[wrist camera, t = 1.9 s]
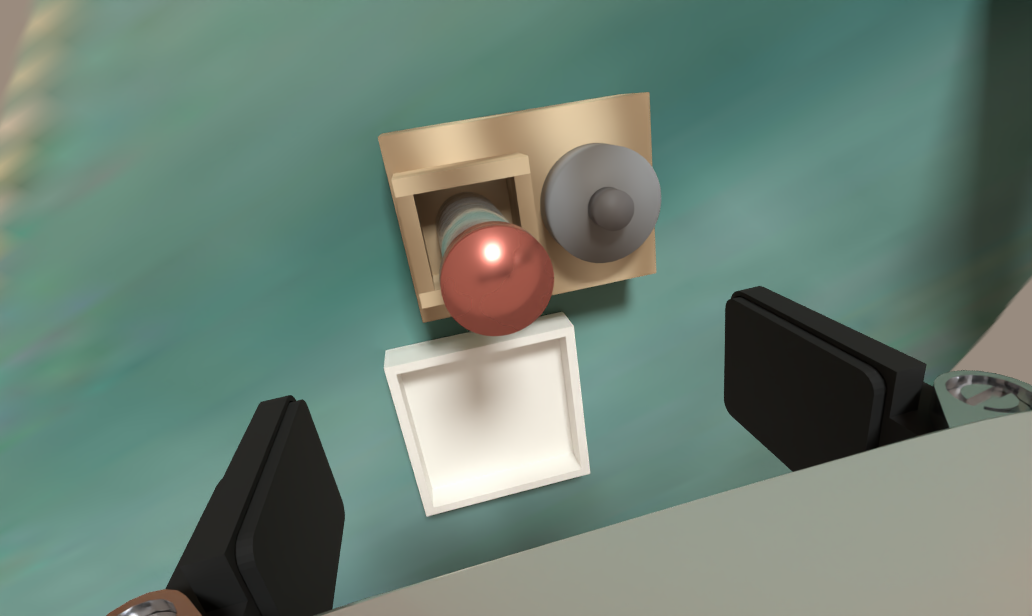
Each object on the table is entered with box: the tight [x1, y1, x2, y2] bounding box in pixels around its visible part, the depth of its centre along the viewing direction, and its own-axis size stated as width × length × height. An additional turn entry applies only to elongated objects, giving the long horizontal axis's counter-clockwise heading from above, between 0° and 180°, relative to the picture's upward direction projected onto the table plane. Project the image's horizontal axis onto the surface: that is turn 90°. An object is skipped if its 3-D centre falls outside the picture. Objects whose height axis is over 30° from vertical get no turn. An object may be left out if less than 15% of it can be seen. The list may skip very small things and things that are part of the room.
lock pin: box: [436, 192, 554, 336], centre depth 22 cm, size 4×4×10 cm
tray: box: [384, 312, 590, 516], centre depth 34 cm, size 12×12×2 cm
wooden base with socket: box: [378, 92, 661, 323], centre depth 27 cm, size 14×10×7 cm
